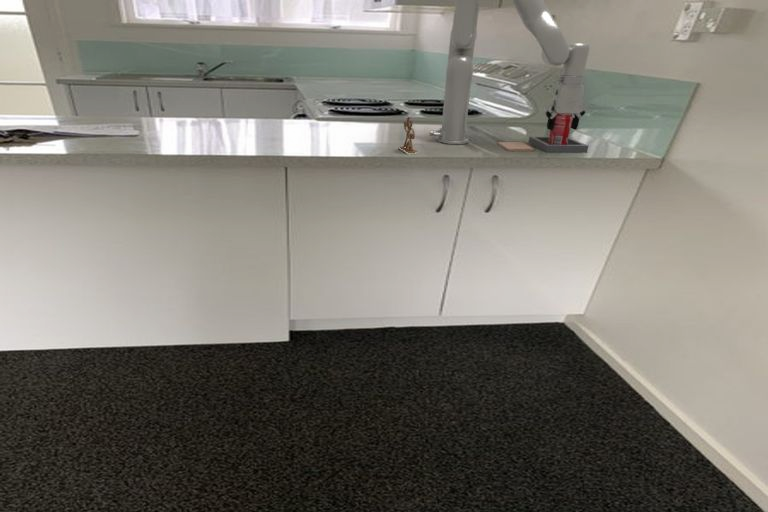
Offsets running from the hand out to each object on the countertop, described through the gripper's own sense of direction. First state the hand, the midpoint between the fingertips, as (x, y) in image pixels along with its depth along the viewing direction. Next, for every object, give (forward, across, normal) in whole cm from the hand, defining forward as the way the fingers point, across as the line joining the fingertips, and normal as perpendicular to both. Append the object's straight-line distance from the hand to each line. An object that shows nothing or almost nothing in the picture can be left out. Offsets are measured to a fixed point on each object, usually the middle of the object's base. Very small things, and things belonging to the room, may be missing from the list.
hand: (561, 129), depth 160 cm
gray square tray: (+7, -1, 0) cm, 7 cm away
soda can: (+7, -1, 0) cm, 7 cm away
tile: (+7, -18, 0) cm, 19 cm away
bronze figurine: (+6, -61, -6) cm, 61 cm away
